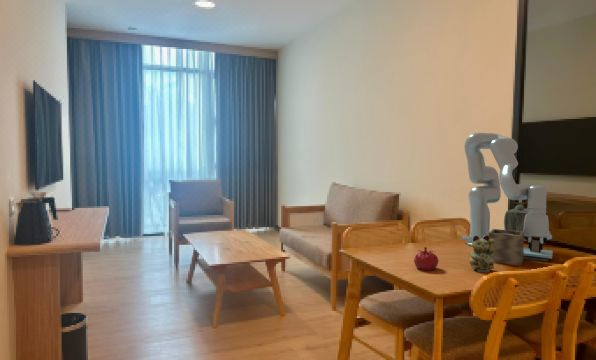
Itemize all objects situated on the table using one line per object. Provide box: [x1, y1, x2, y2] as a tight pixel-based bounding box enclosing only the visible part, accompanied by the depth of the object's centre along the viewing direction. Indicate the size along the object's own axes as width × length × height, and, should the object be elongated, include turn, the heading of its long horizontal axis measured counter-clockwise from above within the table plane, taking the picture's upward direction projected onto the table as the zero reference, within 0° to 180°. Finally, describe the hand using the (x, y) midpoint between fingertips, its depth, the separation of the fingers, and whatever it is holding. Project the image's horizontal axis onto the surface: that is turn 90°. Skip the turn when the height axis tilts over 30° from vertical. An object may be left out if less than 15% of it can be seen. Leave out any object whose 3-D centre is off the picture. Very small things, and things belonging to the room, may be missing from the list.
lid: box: [524, 239, 554, 259], centre depth 193 cm, size 14×14×6 cm
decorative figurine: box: [468, 235, 495, 273], centre depth 172 cm, size 10×8×15 cm
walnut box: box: [489, 228, 525, 266], centre depth 187 cm, size 13×13×13 cm
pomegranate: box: [413, 246, 440, 271], centre depth 174 cm, size 10×10×9 cm
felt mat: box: [523, 255, 549, 262], centre depth 193 cm, size 10×10×1 cm
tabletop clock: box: [503, 199, 533, 240], centre depth 230 cm, size 14×9×25 cm, turn 49°
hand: (535, 250), depth 193 cm, fingers closed on lid, 3 cm apart
